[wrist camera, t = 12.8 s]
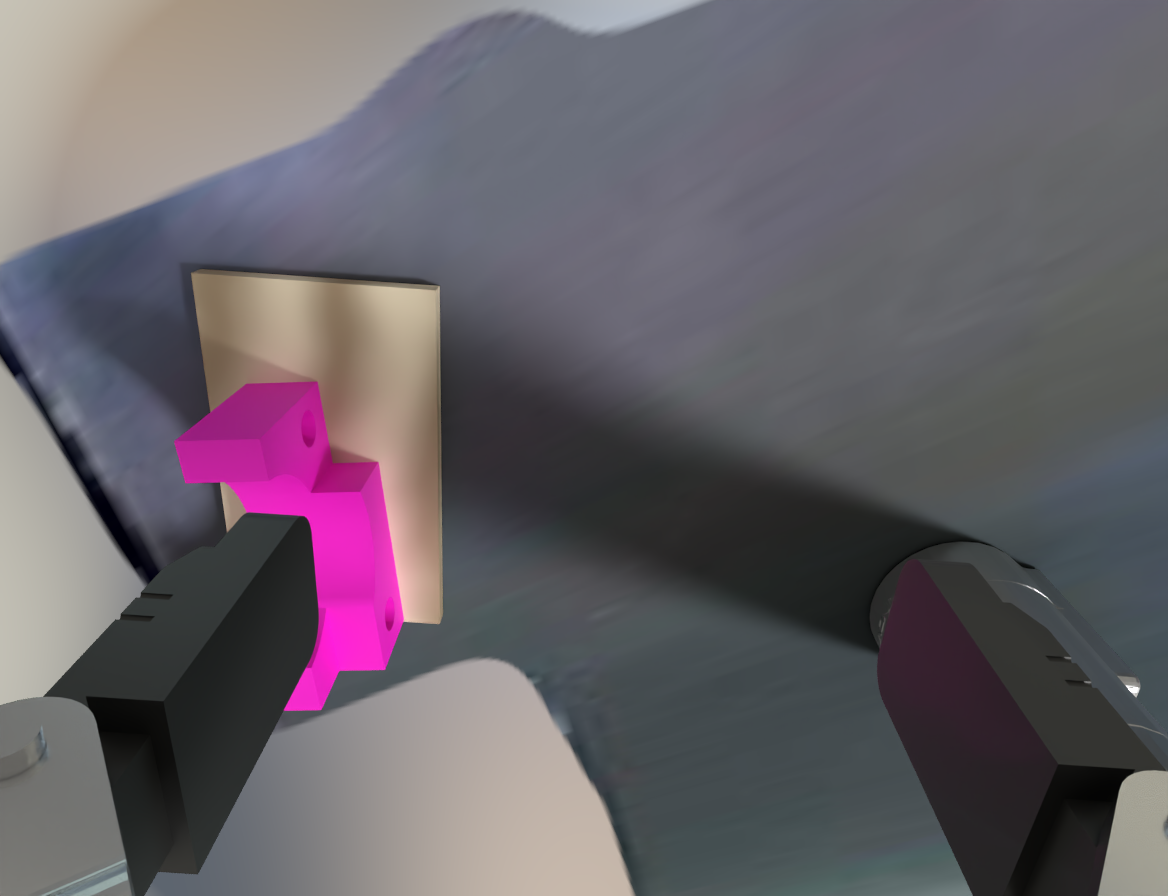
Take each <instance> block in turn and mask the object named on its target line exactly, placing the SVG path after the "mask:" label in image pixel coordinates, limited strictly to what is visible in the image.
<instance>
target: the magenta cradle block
mask: <svg viewBox="0 0 1168 896" xmlns="http://www.w3.org/2000/svg"><path fill="white" fill-rule="evenodd" d="M174 443H175V446H176V450H177V454H178V457H179V461H180V465H181V468H182V472H183V475H184V479H185V483H216V482H225V483H226V484H227V485H229V486H230V487H231V488H232V489H233V490H234V492H235V493H236V494H237V496H238V497H239V499H240V500H241V502H242V504H243V506H244V508H245V510H246V512H247V513H248V512H254V513H268V514H283V515H298V516H305V517H306V518H307V519H308V521H309V523H310V527H311V532H312V541H313V553H314V564H315V575H316V586H317V597H318V608H319V625H318V634H317V639H316V644H315V647H314V651H313V654H312V656H311V659H310V661H309V663H308V665H307V667H306V669H305V671H304V672H303V674H302V676H301V678H300V680H299V682H298V684H297V686H296V688H295V690H294V692H293V693H292V695H291V697H290V699H289V701H288V703H287V705H286V707H285V709H284V711H289V710H321V709H322V707H323V705H324V703H325V700H326V698H327V696H328V694H329V692H330V690H331V687H332V685H333V683H334V681H335V679H336V677H337V674H338V672H339V671H344V670H385V668H386V665H387V663H388V660H389V658H390V655H391V652H392V650H393V647H394V645H395V642H396V639H397V637H398V634H399V631H400V629H401V626H402V624H403V621H404V616H403V610H402V604H401V597H400V591H399V585H398V579H397V573H396V566H395V560H394V554H393V548H392V542H391V536H390V529H389V523H388V517H387V511H386V505H385V498H384V492H383V486H382V480H381V474H380V467H379V462H357V463H333V461H332V456H331V450H330V445H329V440H328V434H327V429H326V424H325V418H324V413H323V408H322V402H321V397H320V392H319V386H318V382H285V383H252V384H245V385H244V386H243V387H241V388H240V389H239V390H238V391H236V392H235V393H234V394H233V395H231V396H230V397H229V398H228V399H226V400H225V401H224V402H223V403H221V404H220V405H219V406H218V407H216V408H215V409H214V410H213V411H211V412H210V413H209V414H208V415H206V416H205V417H204V418H203V419H201V420H200V421H199V422H198V423H196V424H195V425H194V426H193V427H191V428H190V429H189V430H188V431H186V432H185V433H184V434H183V435H181V436H180V437H179V438H178V439H176V440H175V441H174Z"/></svg>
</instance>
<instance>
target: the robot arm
mask: <svg viewBox="0 0 1168 896" xmlns="http://www.w3.org/2000/svg"><path fill="white" fill-rule="evenodd" d="M869 618H870V625H871V631H872V633H873V636H874V638H875V640H876V642H877V644H878V646H879V649H880V650H879V654H878V664H877V675H878V685H879V690H880V694H881V697H882V700H883V702H884V704H885V707H886V709H887V711H888V713H889V715H890V717H891V720H892V722H893V724H894V726H895V728H896V730H897V732H898V735H899V737H900V739H901V741H902V743H903V745H904V748H905V750H906V752H907V754H908V756H909V758H910V761H911V763H912V765H913V767H914V769H915V771H916V773H917V776H918V778H919V780H920V782H921V784H922V786H923V789H924V791H925V793H926V795H927V797H928V799H929V802H930V804H931V806H932V808H933V810H934V812H935V815H936V817H937V819H938V821H939V823H940V825H941V827H942V830H943V832H944V834H945V836H946V838H947V840H948V843H949V845H950V847H951V849H952V851H953V853H954V856H955V858H956V860H957V862H958V864H959V866H960V869H961V871H962V873H963V875H964V877H965V879H966V881H967V884H968V886H969V888H970V890H971V892H972V894H973V896H1168V733H1167V732H1166V731H1165V730H1164V729H1163V728H1162V726H1161V725H1160V724H1159V723H1158V722H1157V721H1156V720H1155V719H1154V717H1153V716H1152V715H1151V714H1150V713H1149V712H1148V711H1147V709H1146V708H1145V707H1144V706H1143V705H1142V704H1141V703H1140V702H1139V700H1138V699H1137V698H1136V697H1137V695H1138V693H1139V691H1140V681H1139V679H1138V677H1137V676H1136V674H1135V673H1134V672H1133V671H1132V670H1131V669H1130V668H1129V667H1128V666H1127V665H1126V664H1125V662H1124V661H1123V660H1122V659H1121V658H1120V657H1119V656H1118V655H1117V654H1116V653H1115V652H1114V651H1113V649H1112V648H1111V647H1110V646H1109V645H1108V644H1107V643H1106V642H1105V641H1104V640H1103V639H1102V638H1101V636H1100V635H1099V634H1098V633H1097V632H1096V631H1095V630H1094V629H1093V628H1092V627H1091V626H1090V625H1089V623H1088V622H1087V621H1086V620H1085V619H1084V618H1083V617H1082V616H1081V615H1080V614H1079V613H1078V612H1077V610H1076V609H1075V608H1074V607H1073V606H1072V605H1071V604H1070V603H1069V602H1068V601H1067V600H1066V599H1065V597H1064V596H1063V595H1062V594H1061V593H1060V592H1059V591H1058V590H1057V589H1056V588H1055V587H1054V586H1053V584H1052V583H1051V582H1050V581H1049V580H1048V579H1047V578H1046V577H1045V576H1044V575H1043V574H1042V573H1041V571H1040V570H1037V569H1027V568H1023V567H1021V566H1020V565H1019V564H1018V563H1016V562H1015V561H1014V560H1013V559H1012V558H1011V557H1010V556H1009V555H1008V554H1006V553H1004V552H1002V551H1000V550H998V549H997V548H995V547H992V546H988V545H985V544H981V543H974V542H952V543H943V544H940V545H936V546H933V547H929V548H926V549H924V550H922V551H920V552H917V553H915V554H913V555H911V556H910V557H908V558H907V559H905V560H904V561H902V562H901V563H899V564H898V565H897V566H896V567H895V568H894V569H893V570H892V571H891V572H890V573H889V574H888V575H887V576H886V577H885V578H884V579H883V581H882V582H881V584H880V585H879V587H878V588H877V590H876V592H875V595H874V598H873V600H872V603H871V609H870V616H869ZM318 625H319V608H318V597H317V586H316V575H315V564H314V553H313V541H312V532H311V527H310V523H309V521H308V519H307V518H306V517H305V516H298V515H283V514H268V513H254V512H248V513H245V514H244V515H242V516H241V517H240V519H239V520H238V521H237V522H236V523H235V524H234V525H233V527H232V528H231V529H230V530H229V531H228V532H227V534H226V535H225V536H224V537H223V538H222V539H221V540H220V542H219V543H218V544H217V545H216V546H215V547H206V546H201V547H199V548H197V549H195V550H194V551H192V552H190V553H188V554H187V555H185V556H183V557H181V558H180V559H178V560H176V561H174V562H173V563H171V564H169V565H167V566H166V567H164V568H163V569H162V570H161V572H160V573H159V574H158V575H157V576H156V577H155V578H154V579H153V580H152V581H151V582H150V583H149V584H148V585H147V586H146V588H145V589H144V590H143V591H142V592H141V597H140V598H135V600H133V601H132V602H131V604H130V605H129V606H128V607H127V608H126V609H125V610H124V611H123V612H122V613H121V618H120V620H115V621H114V622H113V623H112V624H111V625H110V626H109V627H108V628H107V629H106V630H105V631H104V632H103V634H101V636H100V637H99V638H98V639H97V640H96V641H95V642H94V643H93V644H92V645H91V646H90V647H89V648H88V650H87V651H86V652H85V653H84V654H83V655H82V656H81V657H80V658H79V659H78V660H77V661H76V662H75V663H74V664H73V665H72V667H71V668H70V669H69V670H68V671H67V672H66V673H65V674H64V675H63V676H62V677H61V678H60V679H59V680H58V682H57V683H56V684H55V685H54V686H53V687H52V688H51V689H50V690H49V691H48V692H47V693H46V694H45V695H44V696H43V697H36V698H29V699H23V700H18V701H14V702H10V703H6V704H3V705H0V896H144V895H145V893H146V892H147V890H148V888H149V887H150V885H151V883H152V881H153V879H154V878H155V876H156V874H157V873H158V872H171V873H185V874H198V873H199V871H200V869H201V867H202V865H203V864H204V862H205V860H206V858H207V856H208V854H209V852H210V850H211V848H212V846H213V844H214V842H215V841H216V839H217V837H218V835H219V833H220V831H221V829H222V827H223V825H224V823H225V821H226V819H227V818H228V816H229V814H230V812H231V810H232V808H233V806H234V804H235V802H236V800H237V798H238V797H239V795H240V793H241V791H242V789H243V787H244V785H245V783H246V781H247V779H248V778H249V776H250V774H251V772H252V770H253V768H254V766H255V764H256V762H257V760H258V758H259V757H260V754H261V753H262V751H263V749H264V747H265V745H266V743H267V741H268V739H269V737H270V735H271V734H272V732H273V730H274V728H275V726H276V724H277V722H278V720H279V718H280V716H281V714H282V713H283V711H284V709H285V707H286V705H287V703H288V701H289V699H290V697H291V695H292V693H293V692H294V690H295V688H296V686H297V684H298V682H299V680H300V678H301V676H302V674H303V672H304V671H305V669H306V667H307V665H308V663H309V661H310V659H311V656H312V654H313V651H314V647H315V644H316V639H317V634H318Z"/></svg>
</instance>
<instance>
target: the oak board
mask: <svg viewBox="0 0 1168 896" xmlns="http://www.w3.org/2000/svg"><path fill="white" fill-rule="evenodd" d="M191 277H192V284H193V291H194V298H195V305H196V313H197V320H198V327H199V334H200V341H201V349H202V356H203V363H204V370H205V377H206V385H207V392H208V399H209V406H210V412H211V411H213V410H214V409H215V408H216V407H218V406H219V405H220V404H221V403H223V402H224V401H225V400H226V399H228V398H229V397H230V396H231V395H233V394H234V393H235V392H236V391H238V390H239V389H240V388H241V387H243V386H244V385H245V384H252V383H285V382H318V386H319V392H320V397H321V402H322V408H323V413H324V418H325V424H326V429H327V434H328V440H329V445H330V450H331V456H332V461H333V463H357V462H379V467H380V474H381V480H382V486H383V492H384V498H385V505H386V511H387V517H388V523H389V529H390V536H391V542H392V548H393V554H394V560H395V566H396V573H397V579H398V585H399V591H400V597H401V604H402V610H403V616H404V621H403V622H417V623H432V624H440V621H441V618H442V615H443V584H442V477H441V370H440V286H434V285H420V284H406V283H392V282H378V281H363V280H349V279H335V278H321V277H307V276H293V275H279V274H265V273H251V272H236V271H222V270H208V269H199V270H197V271H195V272H192V273H191ZM220 485H221V493H222V500H223V507H224V514H225V521H226V529H227V532H228V531H229V530H230V529H231V528H232V527H233V525H234V524H235V523H236V522H237V521H238V520H239V519H240V517H241V516H242V515H244V514H245V513H247V512H246V510H245V508H244V506H243V504H242V502H241V500H240V499H239V497H238V496H237V494H236V493H235V492H234V490H233V489H232V488H231V487H230V486H229V485H227V484H226V483H225V482H220Z"/></svg>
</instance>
